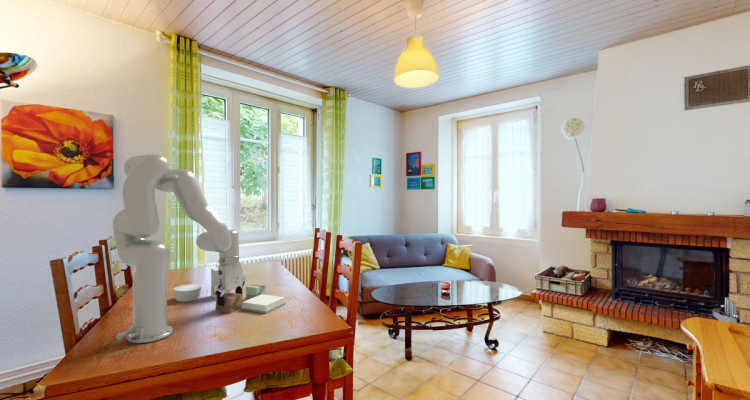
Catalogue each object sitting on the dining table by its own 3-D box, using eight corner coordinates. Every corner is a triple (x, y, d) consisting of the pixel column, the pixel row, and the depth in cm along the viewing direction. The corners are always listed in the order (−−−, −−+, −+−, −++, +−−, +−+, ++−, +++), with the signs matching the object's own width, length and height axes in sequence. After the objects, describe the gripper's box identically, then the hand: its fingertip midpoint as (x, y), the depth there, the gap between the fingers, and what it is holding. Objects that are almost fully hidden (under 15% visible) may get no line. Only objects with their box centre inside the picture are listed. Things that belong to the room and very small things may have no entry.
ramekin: (193, 303, 148) (193, 290, 148) (167, 302, 148) (167, 290, 148) (206, 295, 159) (206, 284, 159) (182, 295, 160) (182, 283, 159)
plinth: (266, 313, 135) (266, 306, 135) (240, 309, 140) (240, 302, 140) (285, 304, 147) (285, 297, 147) (261, 300, 151) (261, 293, 151)
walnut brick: (230, 313, 136) (230, 298, 135) (215, 310, 139) (215, 296, 138) (241, 308, 141) (241, 294, 141) (227, 306, 144) (227, 292, 144)
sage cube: (256, 301, 151) (256, 287, 151) (246, 299, 153) (245, 286, 153) (265, 297, 156) (265, 284, 156) (255, 296, 159) (255, 283, 158)
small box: (230, 297, 156) (230, 269, 156) (215, 300, 152) (215, 270, 152) (225, 293, 162) (225, 266, 162) (210, 295, 158) (210, 267, 158)
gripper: (219, 265, 130) (220, 309, 131) (251, 256, 146) (252, 296, 147) (204, 264, 133) (206, 307, 134) (237, 255, 149) (238, 294, 150)
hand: (230, 301), depth 140 cm, fingers open, 9 cm apart
